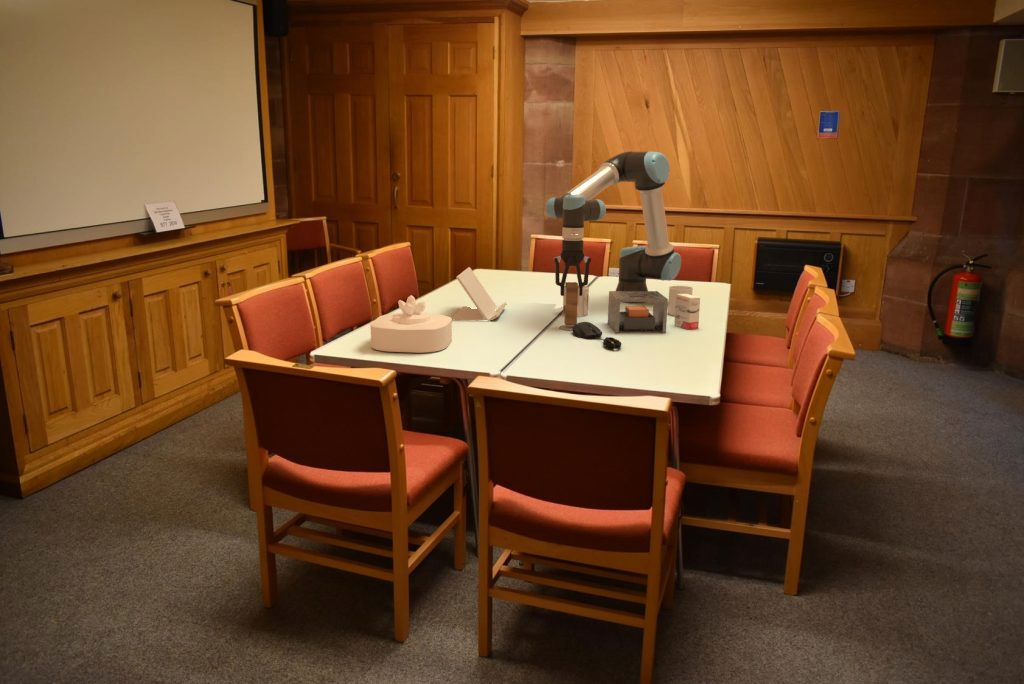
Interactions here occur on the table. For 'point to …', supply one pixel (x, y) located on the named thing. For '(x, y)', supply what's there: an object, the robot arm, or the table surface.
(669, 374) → the table surface
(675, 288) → the mug
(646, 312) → the breaker button
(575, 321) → the walnut block
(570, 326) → the coaster
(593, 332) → the computer mouse
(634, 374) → the table surface
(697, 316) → the ink box
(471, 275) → the tablet stand
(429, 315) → the pink flower lid box
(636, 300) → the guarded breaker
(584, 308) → the mug
